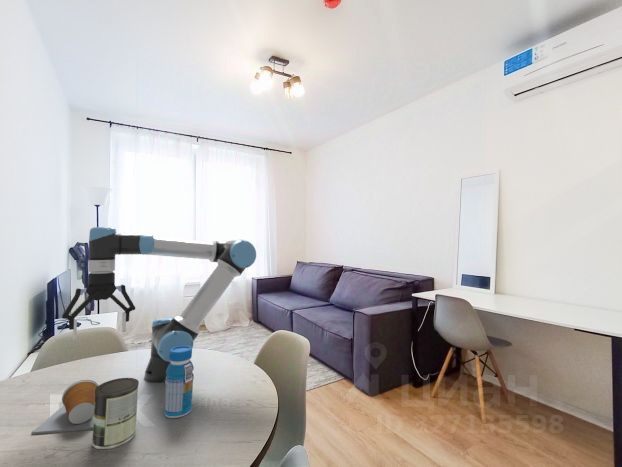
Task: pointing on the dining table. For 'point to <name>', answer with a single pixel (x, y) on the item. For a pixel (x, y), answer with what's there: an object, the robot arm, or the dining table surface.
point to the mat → (62, 423)
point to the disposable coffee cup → (80, 400)
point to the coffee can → (115, 413)
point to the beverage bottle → (179, 382)
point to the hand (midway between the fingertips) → (100, 335)
